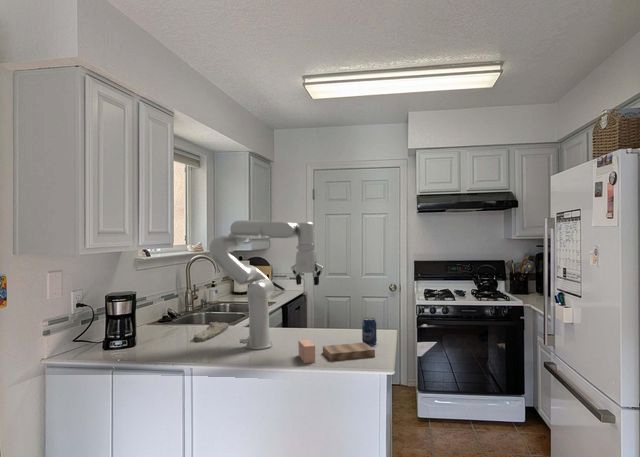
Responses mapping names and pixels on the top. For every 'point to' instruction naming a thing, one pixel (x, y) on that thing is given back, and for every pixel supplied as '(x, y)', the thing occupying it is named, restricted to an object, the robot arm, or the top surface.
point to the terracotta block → (306, 350)
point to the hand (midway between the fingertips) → (307, 284)
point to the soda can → (369, 331)
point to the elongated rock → (211, 331)
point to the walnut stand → (348, 351)
